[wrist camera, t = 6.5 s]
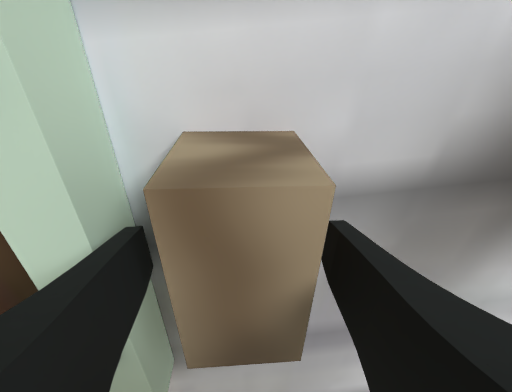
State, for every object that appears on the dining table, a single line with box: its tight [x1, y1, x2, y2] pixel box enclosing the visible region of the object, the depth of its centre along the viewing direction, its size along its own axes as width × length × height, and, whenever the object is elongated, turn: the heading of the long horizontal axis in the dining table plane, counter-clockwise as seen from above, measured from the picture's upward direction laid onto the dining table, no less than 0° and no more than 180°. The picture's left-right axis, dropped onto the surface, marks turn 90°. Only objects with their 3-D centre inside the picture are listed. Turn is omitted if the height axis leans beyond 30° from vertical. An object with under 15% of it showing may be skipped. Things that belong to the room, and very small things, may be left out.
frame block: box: [143, 131, 336, 369], centre depth 10 cm, size 5×8×5 cm, turn 179°
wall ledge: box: [0, 0, 174, 392], centre depth 9 cm, size 2×26×5 cm, turn 179°
